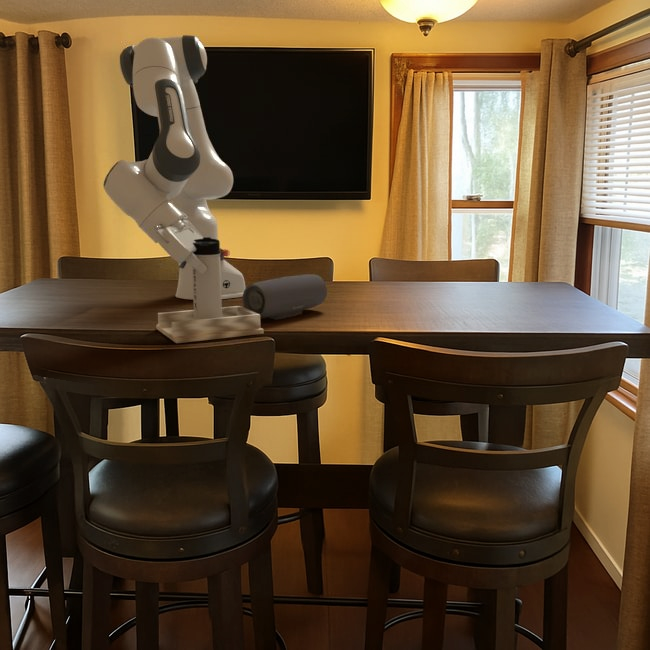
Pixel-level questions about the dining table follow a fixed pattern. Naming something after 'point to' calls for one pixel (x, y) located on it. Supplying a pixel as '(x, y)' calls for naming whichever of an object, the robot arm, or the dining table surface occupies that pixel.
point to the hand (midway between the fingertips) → (209, 268)
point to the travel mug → (207, 280)
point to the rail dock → (209, 325)
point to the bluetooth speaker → (284, 295)
